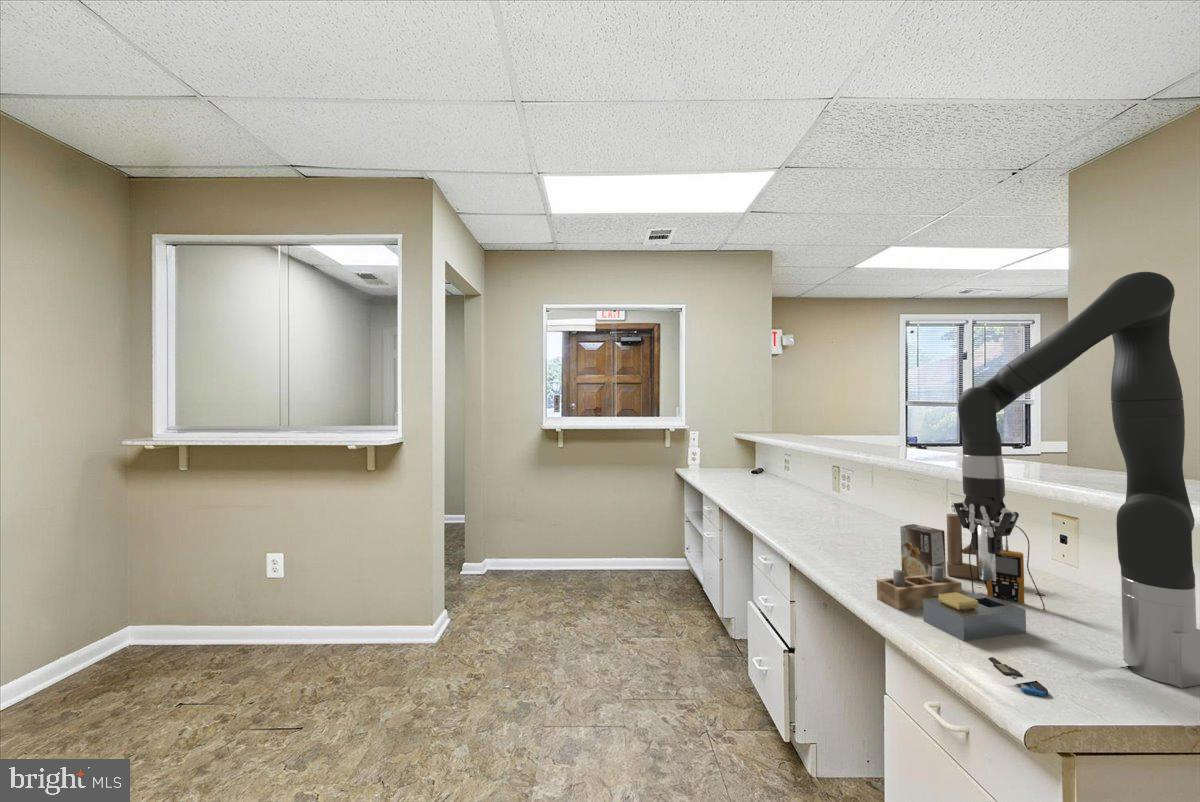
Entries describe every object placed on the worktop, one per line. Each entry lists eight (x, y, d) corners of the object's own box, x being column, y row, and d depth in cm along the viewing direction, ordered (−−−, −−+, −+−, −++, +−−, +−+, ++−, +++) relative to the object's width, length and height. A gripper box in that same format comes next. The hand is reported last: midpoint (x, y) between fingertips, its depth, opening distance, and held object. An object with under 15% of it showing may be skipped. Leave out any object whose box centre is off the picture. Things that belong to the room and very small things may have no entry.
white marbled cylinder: (999, 580, 110) (997, 526, 110) (988, 581, 109) (986, 527, 109) (986, 575, 113) (984, 523, 113) (975, 577, 112) (973, 524, 112)
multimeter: (966, 605, 124) (964, 526, 124) (971, 593, 132) (969, 519, 132) (1044, 621, 114) (1041, 535, 114) (1044, 608, 122) (1042, 527, 122)
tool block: (981, 618, 117) (981, 592, 117) (1026, 637, 107) (1025, 609, 107) (923, 625, 113) (923, 599, 113) (964, 645, 103) (963, 617, 103)
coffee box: (948, 588, 135) (946, 530, 135) (933, 592, 133) (931, 533, 133) (914, 578, 144) (913, 523, 144) (900, 582, 141) (899, 526, 141)
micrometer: (1051, 690, 85) (1018, 687, 86) (1052, 701, 85) (1018, 698, 86) (1009, 654, 97) (980, 652, 98) (1009, 664, 97) (980, 662, 98)
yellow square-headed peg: (957, 620, 112) (956, 592, 112) (978, 630, 107) (977, 600, 107) (939, 623, 111) (938, 594, 111) (959, 632, 106) (958, 602, 106)
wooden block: (994, 582, 139) (992, 519, 140) (947, 576, 145) (946, 515, 145) (992, 578, 142) (990, 516, 143) (946, 572, 148) (945, 512, 148)
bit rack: (937, 596, 130) (936, 562, 130) (962, 606, 123) (961, 570, 123) (877, 603, 126) (876, 568, 126) (898, 614, 119) (898, 577, 120)
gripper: (1028, 477, 105) (1032, 559, 105) (967, 470, 119) (970, 542, 119) (1000, 479, 104) (1004, 562, 103) (941, 472, 117) (944, 544, 117)
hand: (986, 551), depth 111 cm, fingers closed on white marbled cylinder, 3 cm apart
